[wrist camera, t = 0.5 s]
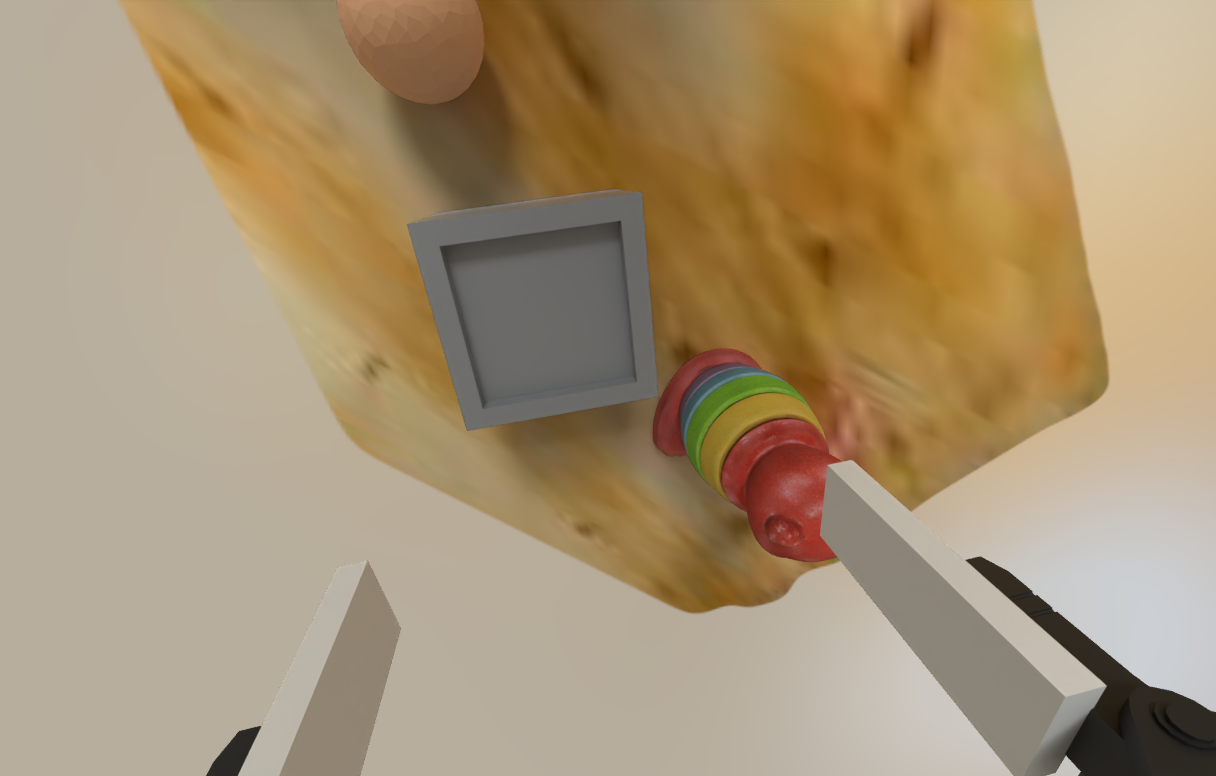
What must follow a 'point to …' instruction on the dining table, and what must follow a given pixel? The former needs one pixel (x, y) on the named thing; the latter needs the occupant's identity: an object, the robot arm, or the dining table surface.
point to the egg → (416, 44)
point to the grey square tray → (541, 304)
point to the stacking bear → (751, 447)
